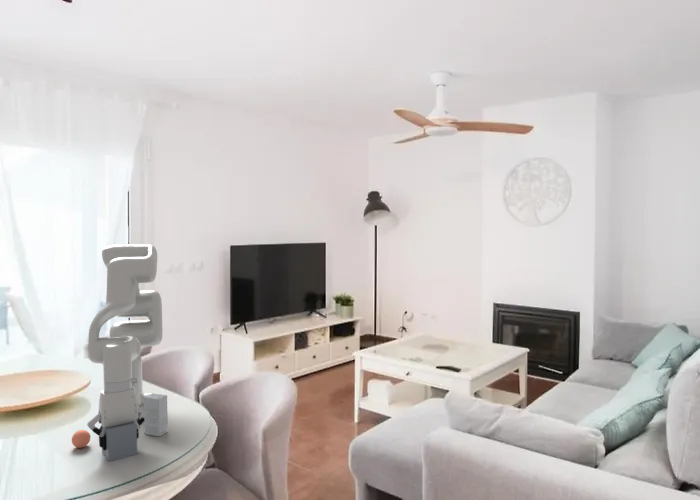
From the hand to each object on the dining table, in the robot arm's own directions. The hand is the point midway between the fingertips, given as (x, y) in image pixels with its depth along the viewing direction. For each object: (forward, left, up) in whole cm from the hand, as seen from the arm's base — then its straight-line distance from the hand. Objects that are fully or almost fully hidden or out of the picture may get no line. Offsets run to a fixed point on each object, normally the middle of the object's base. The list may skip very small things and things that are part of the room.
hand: (119, 444), depth 151 cm
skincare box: (-13, -8, -3) cm, 16 cm away
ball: (+8, -11, 0) cm, 14 cm away
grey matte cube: (0, 0, -3) cm, 3 cm away
